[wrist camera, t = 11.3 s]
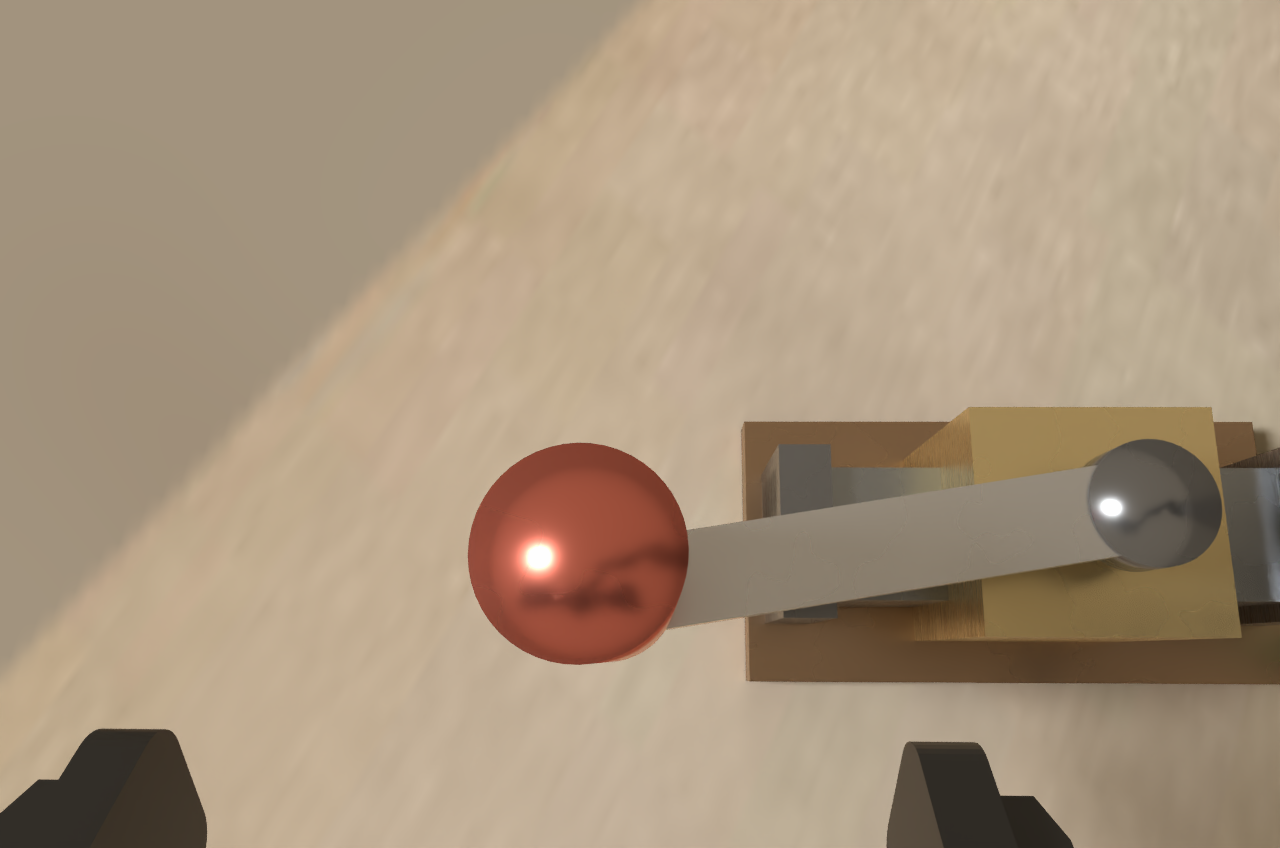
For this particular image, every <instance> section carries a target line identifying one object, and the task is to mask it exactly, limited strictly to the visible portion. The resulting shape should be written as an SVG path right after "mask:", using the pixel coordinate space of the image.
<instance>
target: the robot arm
mask: <svg viewBox="0 0 1280 848" xmlns="http://www.w3.org/2000/svg"><path fill="white" fill-rule="evenodd" d="M206 842H207V823H206V817H205V813H204V810H203V807H202V805H201V802H200V799H199V797H198V794H197V791H196V788H195V786H194V783H193V780H192V777H191V775H190V772H189V769H188V767H187V764H186V761H185V758H184V756H183V753H182V750H181V747H180V745H179V742H178V740H177V738H176V736H175V735H174V733H173V732H171V731H170V730H166V729H98V730H95V731H93V732H92V733H91V734H89V735H88V736H87V737H86V738H85V739H84V741H83V742H82V743H81V745H80V746H79V748H78V749H77V751H76V753H75V754H74V756H73V757H72V759H71V761H70V762H69V764H68V765H67V767H66V769H65V770H64V772H63V773H62V775H61V777H60V778H59V780H38V781H36V782H35V783H34V784H33V785H32V786H31V787H30V788H28V789H27V790H26V791H25V792H24V793H23V794H22V795H21V796H19V797H18V798H17V799H16V800H15V801H14V802H13V803H12V804H10V805H9V806H8V807H7V808H6V809H5V810H4V811H2V812H1V813H0V848H206ZM887 848H1074V847H1073V845H1072V842H1071V840H1070V839H1069V838H1068V836H1067V835H1066V834H1065V833H1064V832H1063V830H1062V829H1061V828H1060V827H1059V826H1058V825H1057V823H1056V822H1055V821H1054V820H1053V819H1052V817H1051V816H1050V815H1049V814H1048V813H1047V812H1046V810H1045V809H1044V808H1043V807H1042V806H1041V805H1040V803H1039V802H1038V801H1037V800H1036V799H1035V797H1034V796H1000V794H999V791H998V788H997V785H996V782H995V779H994V777H993V774H992V771H991V768H990V765H989V762H988V759H987V757H986V754H985V752H984V750H983V749H982V747H981V746H980V745H979V744H978V743H973V742H907V743H906V745H905V747H904V750H903V754H902V759H901V764H900V769H899V774H898V779H897V784H896V789H895V794H894V799H893V804H892V809H891V814H890V819H889V824H888V830H887Z"/></svg>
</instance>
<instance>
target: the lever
mask: <svg viewBox="0 0 1280 848" xmlns="http://www.w3.org/2000/svg"><path fill="white" fill-rule="evenodd" d="M1221 519H1222V501H1221V496H1220V492H1219V489H1218V487H1217V484H1216V482H1215V480H1214V478H1213V476H1212V475H1211V473H1210V472H1209V470H1208V469H1207V467H1206V466H1205V465H1204V464H1203V463H1202V462H1201V461H1200V460H1199V459H1198V458H1197V457H1196V456H1195V455H1193V454H1192V453H1191V452H1189V451H1188V450H1186V449H1184V448H1182V447H1181V446H1178V445H1176V444H1174V443H1171V442H1167V441H1164V440H1158V439H1140V440H1135V441H1130V442H1128V443H1125V444H1123V445H1120V446H1118V447H1116V448H1114V449H1112V450H1109V451H1107V452H1105V453H1103V454H1101V455H1099V456H1097V457H1095V458H1093V459H1092V460H1090V461H1089V462H1088V463H1086V464H1085V465H1084V466H1083V467H1082V468H1076V469H1070V470H1064V471H1057V472H1051V473H1045V474H1038V475H1032V476H1026V477H1020V478H1013V479H1007V480H1001V481H994V482H988V483H982V484H975V485H969V486H963V487H957V488H950V489H944V490H938V491H931V492H925V493H919V494H912V495H906V496H900V497H894V498H887V499H881V500H875V501H868V502H862V503H856V504H849V505H843V506H837V507H831V508H824V509H818V510H812V511H805V512H799V513H793V514H786V515H780V516H774V517H768V518H761V519H755V520H749V521H742V522H736V523H730V524H723V525H717V526H711V527H704V528H698V529H692V530H686V526H685V521H684V518H683V515H682V513H681V510H680V508H679V505H678V503H677V502H676V500H675V498H674V496H673V494H672V493H671V491H670V490H669V488H668V487H667V486H666V484H665V483H664V482H663V481H662V480H661V478H660V477H659V476H658V475H657V474H656V473H655V472H654V471H653V470H651V469H650V468H649V467H648V466H646V465H645V464H644V463H643V462H641V461H639V460H638V459H636V458H635V457H633V456H631V455H629V454H627V453H625V452H622V451H620V450H618V449H614V448H611V447H608V446H604V445H598V444H592V443H570V444H562V445H557V446H553V447H549V448H546V449H543V450H540V451H537V452H535V453H533V454H531V455H529V456H527V457H525V458H523V459H522V460H520V461H519V462H517V463H516V464H515V465H513V466H512V467H510V468H509V469H508V470H507V471H506V472H505V473H504V474H503V475H501V476H500V478H499V479H498V480H497V481H496V482H495V483H494V484H493V486H492V487H491V488H490V490H489V491H488V493H487V494H486V496H485V497H484V499H483V501H482V502H481V504H480V506H479V508H478V510H477V513H476V516H475V518H474V521H473V524H472V528H471V533H470V538H469V547H468V565H469V573H470V578H471V583H472V586H473V589H474V593H475V596H476V598H477V600H478V602H479V604H480V606H481V608H482V610H483V612H484V613H485V615H486V616H487V618H488V619H489V621H490V622H491V623H492V625H493V626H494V627H495V628H496V629H497V630H498V632H499V633H500V634H502V635H503V636H504V637H505V638H506V639H507V640H508V641H510V642H511V643H512V644H514V645H515V646H517V647H518V648H520V649H521V650H523V651H525V652H527V653H529V654H531V655H533V656H535V657H538V658H541V659H544V660H547V661H550V662H556V663H562V664H575V665H581V664H592V663H603V662H613V661H620V660H625V659H628V658H631V657H633V656H636V655H638V654H640V653H641V652H643V651H645V650H646V649H648V648H649V647H650V646H652V645H653V644H654V643H655V642H656V641H657V640H658V639H659V638H660V636H661V635H662V634H663V633H664V631H665V630H669V629H676V628H682V627H688V626H694V625H701V624H707V623H713V622H719V621H725V620H732V619H738V618H744V617H750V616H757V615H763V614H769V613H775V612H781V611H788V610H794V609H800V608H806V607H813V606H819V605H825V604H831V603H837V602H844V601H850V600H856V599H862V598H869V597H875V596H881V595H887V594H894V593H900V592H906V591H912V590H918V589H925V588H931V587H937V586H943V585H950V584H956V583H962V582H968V581H974V580H981V579H987V578H993V577H999V576H1006V575H1012V574H1018V573H1024V572H1031V571H1037V570H1043V569H1049V568H1055V567H1062V566H1068V565H1074V564H1080V563H1087V562H1093V561H1099V560H1100V561H1101V562H1103V563H1105V564H1107V565H1109V566H1111V567H1113V568H1116V569H1120V570H1123V571H1129V572H1145V571H1152V570H1157V569H1163V568H1169V567H1174V566H1179V565H1183V564H1185V563H1188V562H1191V561H1192V560H1194V559H1196V558H1198V557H1199V556H1200V555H1202V554H1203V553H1204V552H1205V551H1206V550H1207V549H1208V548H1209V547H1210V545H1211V544H1212V543H1213V541H1214V540H1215V538H1216V536H1217V534H1218V531H1219V528H1220V525H1221Z"/></svg>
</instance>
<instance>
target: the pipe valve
mask: <svg viewBox="0 0 1280 848" xmlns="http://www.w3.org/2000/svg"><path fill="white" fill-rule="evenodd" d="M741 438H742V490H743V521H749V520H755V519H761V518H768V517H774V516H780V515H786V514H793V513H799V512H805V511H812V510H818V509H824V508H831V507H837V506H843V505H849V504H856V503H862V502H868V501H875V500H881V499H887V498H894V497H900V496H906V495H912V494H919V493H925V492H931V491H938V490H944V489H950V488H957V487H963V486H969V485H975V484H982V483H988V482H994V481H1001V480H1007V479H1013V478H1020V477H1026V476H1032V475H1038V474H1045V473H1051V472H1057V471H1064V470H1070V469H1076V468H1082V467H1083V466H1084V465H1085V464H1086V463H1088V462H1089V461H1090V460H1092V459H1093V458H1095V457H1097V456H1099V455H1101V454H1103V453H1105V452H1107V451H1109V450H1112V449H1114V448H1116V447H1118V446H1120V445H1123V444H1125V443H1128V442H1130V441H1135V440H1140V439H1158V440H1164V441H1167V442H1171V443H1174V444H1176V445H1178V446H1181V447H1182V448H1184V449H1186V450H1188V451H1189V452H1191V453H1192V454H1193V455H1195V456H1196V457H1197V458H1198V459H1199V460H1200V461H1201V462H1202V463H1203V464H1204V465H1205V466H1206V467H1207V469H1208V470H1209V472H1210V473H1211V475H1212V476H1213V478H1214V480H1215V482H1216V484H1217V487H1218V489H1219V492H1220V496H1221V501H1222V519H1221V525H1220V528H1219V531H1218V534H1217V536H1216V538H1215V540H1214V541H1213V543H1212V544H1211V545H1210V547H1209V548H1208V549H1207V550H1206V551H1205V552H1204V553H1203V554H1202V555H1200V556H1199V557H1198V558H1196V559H1194V560H1192V561H1191V562H1188V563H1185V564H1183V565H1179V566H1174V567H1169V568H1163V569H1157V570H1152V571H1145V572H1129V571H1123V570H1120V569H1116V568H1113V567H1111V566H1109V565H1107V564H1105V563H1103V562H1101V561H1100V560H1099V561H1093V562H1087V563H1080V564H1074V565H1068V566H1062V567H1055V568H1049V569H1043V570H1037V571H1031V572H1024V573H1018V574H1012V575H1006V576H999V577H993V578H987V579H981V580H974V581H968V582H962V583H956V584H950V585H943V586H937V587H931V588H925V589H918V590H912V591H906V592H900V593H894V594H887V595H881V596H875V597H869V598H862V599H856V600H850V601H844V602H837V603H831V604H825V605H819V606H813V607H806V608H800V609H794V610H788V611H781V612H775V613H769V614H763V615H757V616H750V617H745V646H746V680H747V681H792V682H976V683H1161V684H1280V448H1277V449H1274V450H1271V451H1268V452H1265V453H1262V454H1259V455H1257V453H1256V446H1255V439H1254V432H1253V425H1252V422H1213V415H1212V408H1211V407H968V408H967V409H966V410H965V411H963V412H962V413H961V414H960V415H958V416H957V417H956V418H955V419H953V420H952V421H951V422H744V424H743V427H742V430H741Z"/></svg>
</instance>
